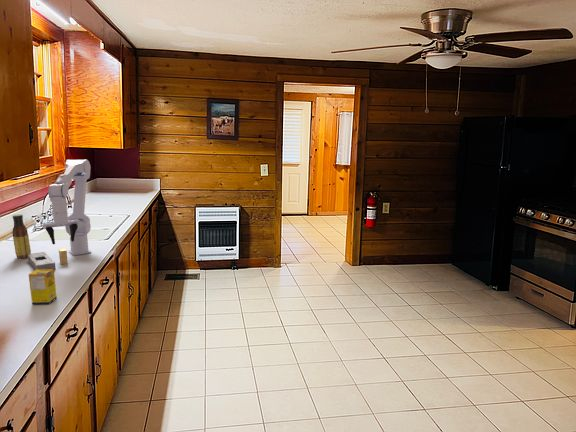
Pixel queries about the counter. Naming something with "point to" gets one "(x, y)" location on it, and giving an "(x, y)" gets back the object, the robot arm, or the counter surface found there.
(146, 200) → the counter surface
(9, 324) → the counter surface
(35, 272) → the supplement box
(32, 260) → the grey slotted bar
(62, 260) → the tan wooden block
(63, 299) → the counter surface
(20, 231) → the sauce bottle
